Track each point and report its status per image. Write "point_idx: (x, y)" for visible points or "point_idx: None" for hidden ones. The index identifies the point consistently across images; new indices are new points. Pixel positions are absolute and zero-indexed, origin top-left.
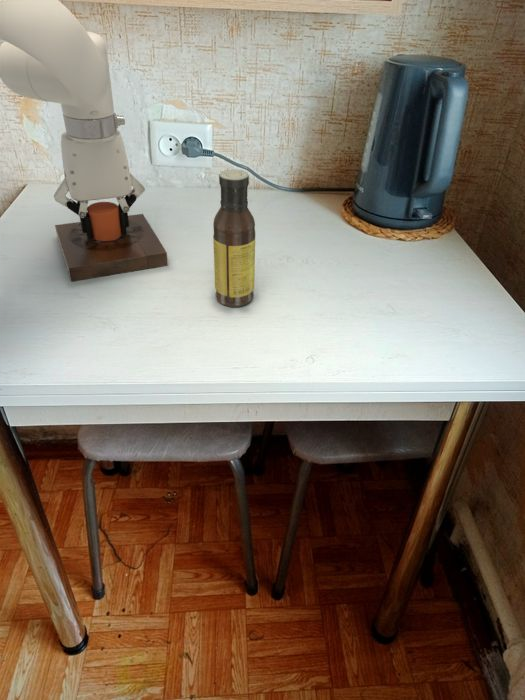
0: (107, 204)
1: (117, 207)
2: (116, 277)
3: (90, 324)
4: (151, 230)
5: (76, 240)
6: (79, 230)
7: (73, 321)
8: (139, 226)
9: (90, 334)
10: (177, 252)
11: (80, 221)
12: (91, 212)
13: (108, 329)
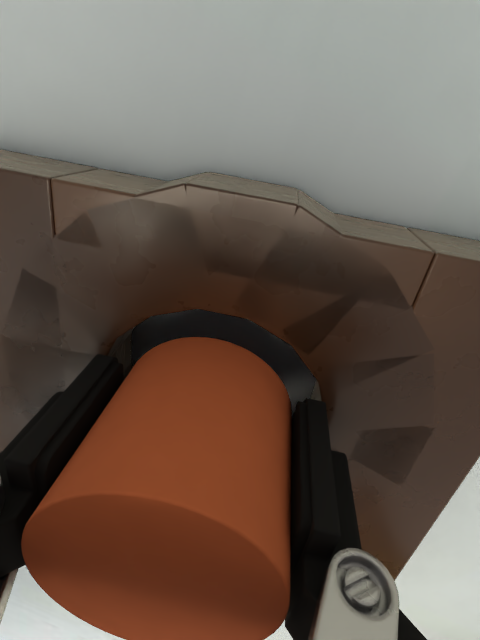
0: (211, 567)
1: (270, 627)
2: None
3: (71, 613)
4: (442, 496)
5: (42, 402)
6: (67, 311)
7: (38, 594)
8: (417, 435)
9: (67, 628)
10: (450, 530)
11: (25, 428)
12: (51, 592)
13: (103, 635)
